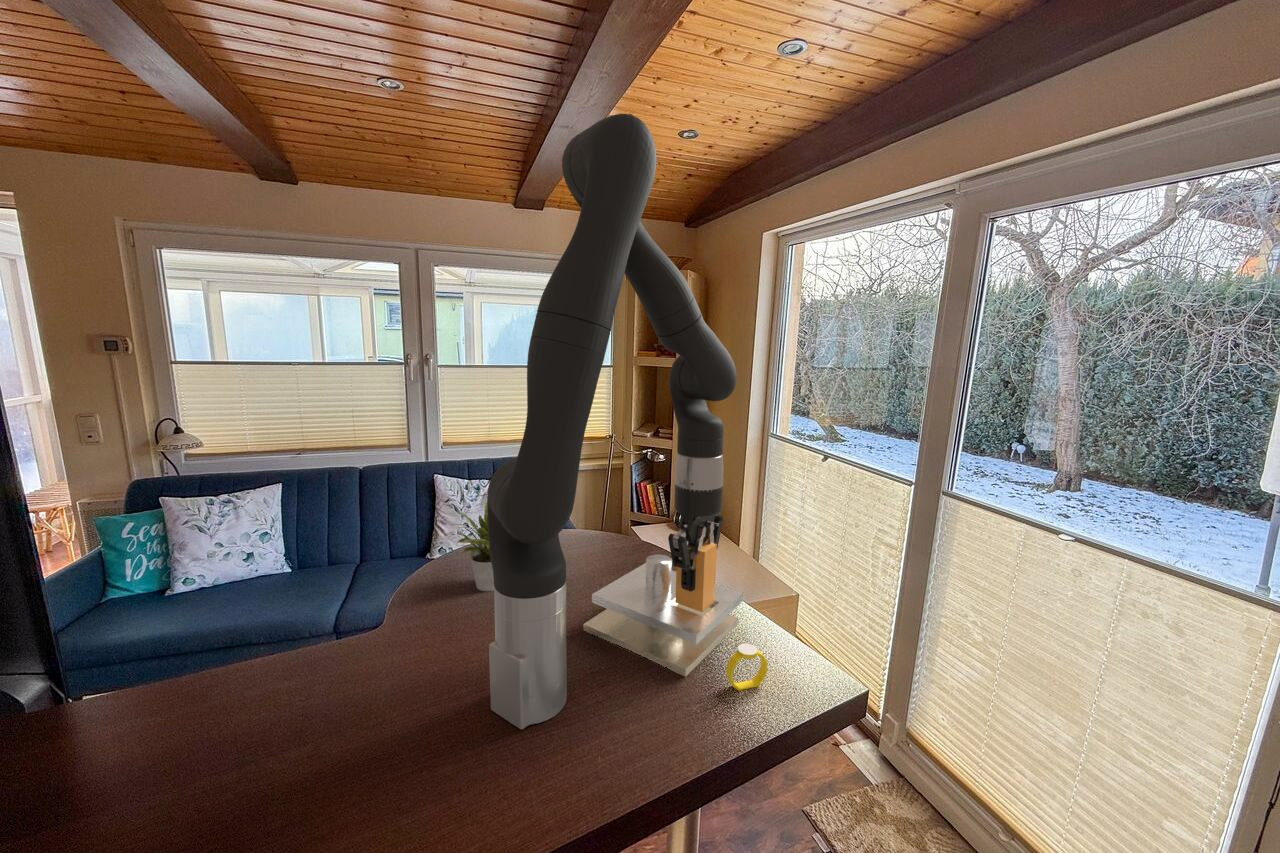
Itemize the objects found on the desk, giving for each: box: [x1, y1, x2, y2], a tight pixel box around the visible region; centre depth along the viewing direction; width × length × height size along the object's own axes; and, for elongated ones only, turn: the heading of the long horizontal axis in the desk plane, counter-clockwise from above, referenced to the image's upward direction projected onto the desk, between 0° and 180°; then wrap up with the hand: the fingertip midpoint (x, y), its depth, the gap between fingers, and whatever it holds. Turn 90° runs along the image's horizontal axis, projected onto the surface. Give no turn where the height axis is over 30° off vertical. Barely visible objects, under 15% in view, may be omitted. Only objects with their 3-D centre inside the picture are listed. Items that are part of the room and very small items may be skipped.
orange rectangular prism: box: [675, 541, 718, 612], centre depth 82 cm, size 4×5×10 cm
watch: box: [725, 643, 768, 692], centre depth 73 cm, size 6×3×6 cm, turn 108°
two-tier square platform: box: [582, 554, 744, 678], centre depth 87 cm, size 18×21×12 cm
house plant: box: [452, 501, 494, 592], centre depth 101 cm, size 14×14×16 cm
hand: (695, 583), depth 83 cm, fingers closed on orange rectangular prism, 4 cm apart
